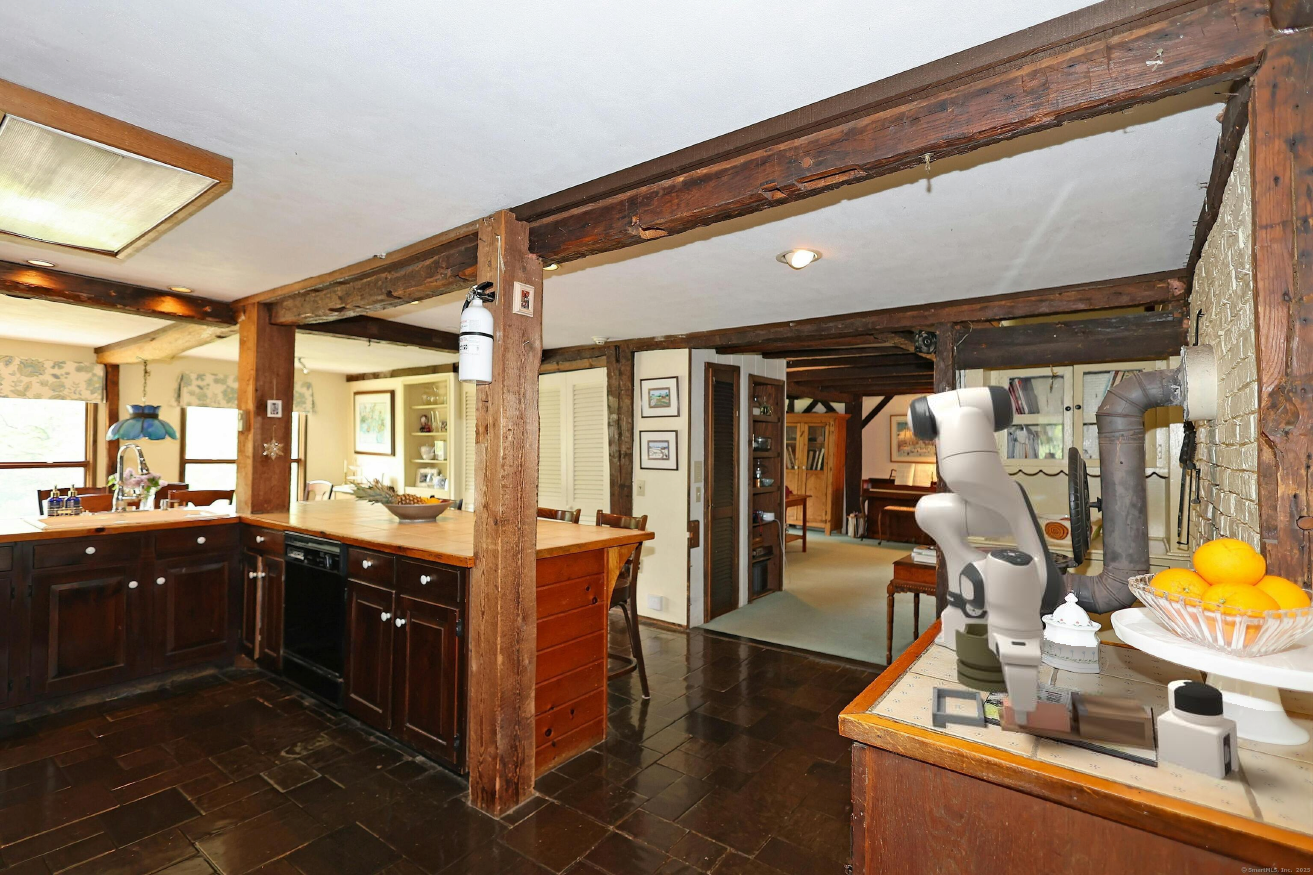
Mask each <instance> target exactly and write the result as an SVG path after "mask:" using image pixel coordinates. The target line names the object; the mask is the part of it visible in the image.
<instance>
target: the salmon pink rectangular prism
mask: <svg viewBox="0 0 1313 875" xmlns="http://www.w3.org/2000/svg"><path fill="white" fill-rule="evenodd" d="M1002 707H1003V708H1002V709H1003V715H1004V720H1005V724H1013V725H1021V726H1028V727H1036V728H1044V729H1051V730H1059V731H1067V732H1070V717H1071V716H1070V711H1069V709H1068V707H1067V704H1062V703H1056V702H1055V703H1053V702H1045V701H1037V706H1036V710H1035V711H1034V712H1030V711H1027V715H1026V716H1027V723H1026V724H1017V723H1016V722H1015V718H1014V709H1013V708H1012V706H1011V702H1010V698H1009V697H1002Z"/></svg>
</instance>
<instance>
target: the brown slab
mask: <svg viewBox="0 0 1313 875" xmlns="http://www.w3.org/2000/svg"><path fill="white" fill-rule="evenodd" d="M1070 701H1071V702H1070V704H1071V716H1070V732H1067V731H1059V730H1051V729H1044V728H1036V727H1028V726H1021V725H1013V724H1005V720H1004V715H1003V708H998V707H997V709H996V710H997V715H998V719H999V724H1000V728H1001V731H1004V732H1010V733H1011V732H1012V733H1018V734H1026V735H1032V736H1033V735H1034V736H1039V737H1040V736H1042V737H1048V738H1057V739H1063V740H1072V741H1078V742H1080V741H1081V742H1087V743H1095V744H1102V745H1109V746H1117V747H1122V748H1123V747H1125V748H1131V749H1138V750H1139V749H1140V750H1147V751H1156V749H1154V742H1153V741H1154V740H1153V739H1154V738H1153V737H1154V735H1153V722H1152V721H1153V719H1152V716H1150V714H1149V713H1148V712H1147V710H1146V709H1145V707H1144V706H1143V705H1142V704H1141V702H1140V701H1139V700H1138V699H1131V698H1122V697H1112V696H1104V695H1103V696H1102V695H1093V694H1085V693H1084V694H1083V693H1079V692H1076V691H1070Z"/></svg>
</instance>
